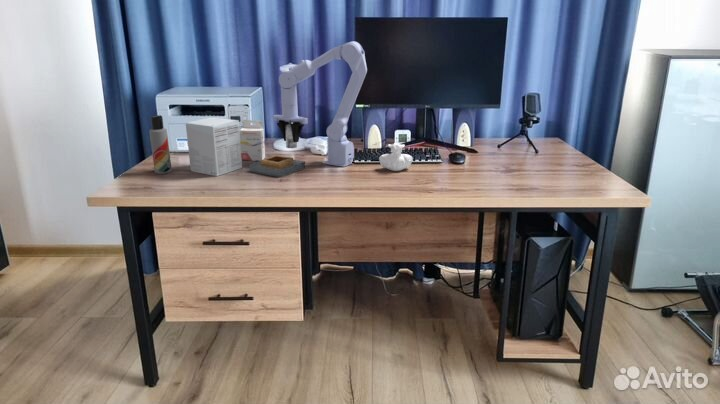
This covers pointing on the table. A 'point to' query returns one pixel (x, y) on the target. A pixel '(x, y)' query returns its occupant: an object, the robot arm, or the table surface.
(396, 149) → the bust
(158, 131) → the lotion bottle
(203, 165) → the supplement box
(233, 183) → the table surface
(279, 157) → the gray plate with frame
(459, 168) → the table surface
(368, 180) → the table surface
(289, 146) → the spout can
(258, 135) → the ink cartridge box
